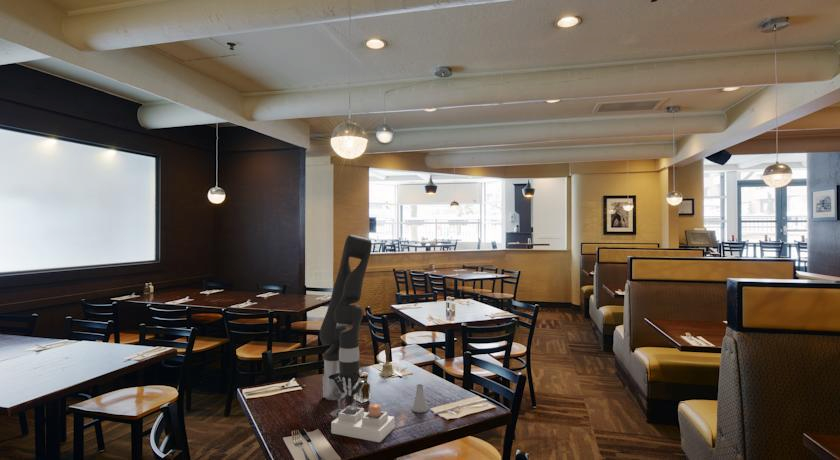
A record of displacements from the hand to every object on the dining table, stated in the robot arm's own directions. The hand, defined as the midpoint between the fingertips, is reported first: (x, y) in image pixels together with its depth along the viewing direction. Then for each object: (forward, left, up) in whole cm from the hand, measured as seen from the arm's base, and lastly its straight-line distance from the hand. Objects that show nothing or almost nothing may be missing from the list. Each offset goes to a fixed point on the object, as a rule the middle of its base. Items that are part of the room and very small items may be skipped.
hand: (349, 404), depth 161 cm
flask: (+18, +24, -9) cm, 32 cm away
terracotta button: (+10, 0, -2) cm, 11 cm away
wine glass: (-12, +10, -9) cm, 18 cm away
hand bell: (-14, +58, -9) cm, 61 cm away
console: (+5, 0, -9) cm, 11 cm away
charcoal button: (0, 0, -5) cm, 5 cm away
